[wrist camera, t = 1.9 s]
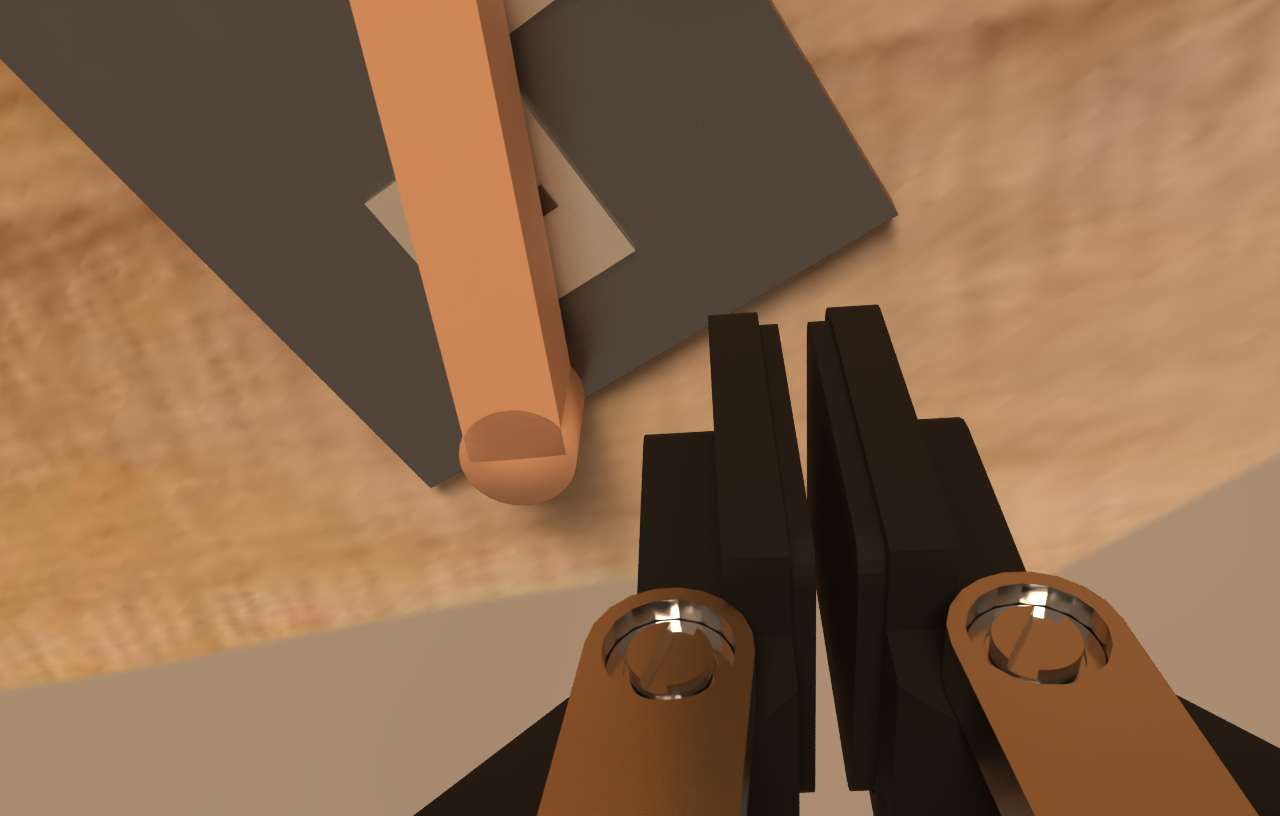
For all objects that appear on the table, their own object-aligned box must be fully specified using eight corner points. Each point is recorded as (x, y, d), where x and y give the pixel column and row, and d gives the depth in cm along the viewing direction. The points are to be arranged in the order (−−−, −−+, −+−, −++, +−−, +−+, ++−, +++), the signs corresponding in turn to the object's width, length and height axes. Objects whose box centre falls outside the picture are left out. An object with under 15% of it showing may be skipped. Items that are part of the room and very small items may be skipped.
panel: (379, -648, 20) (278, -765, 15) (891, 199, 28) (937, 307, 23) (-127, -102, 25) (-326, -52, 20) (436, 468, 34) (395, 602, 29)
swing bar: (298, -335, 21) (246, -340, 18) (449, -358, 20) (418, -366, 18) (488, 443, 31) (472, 509, 28) (591, 434, 30) (584, 500, 28)
